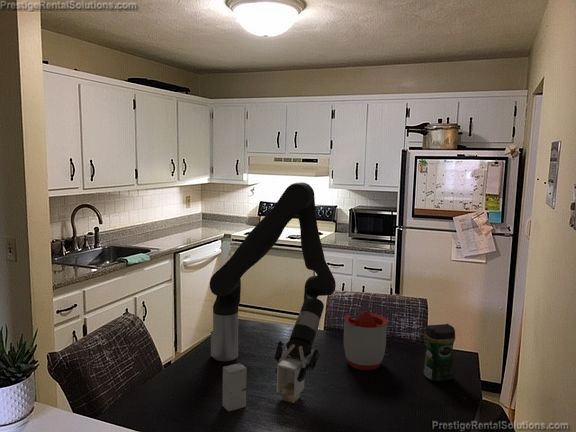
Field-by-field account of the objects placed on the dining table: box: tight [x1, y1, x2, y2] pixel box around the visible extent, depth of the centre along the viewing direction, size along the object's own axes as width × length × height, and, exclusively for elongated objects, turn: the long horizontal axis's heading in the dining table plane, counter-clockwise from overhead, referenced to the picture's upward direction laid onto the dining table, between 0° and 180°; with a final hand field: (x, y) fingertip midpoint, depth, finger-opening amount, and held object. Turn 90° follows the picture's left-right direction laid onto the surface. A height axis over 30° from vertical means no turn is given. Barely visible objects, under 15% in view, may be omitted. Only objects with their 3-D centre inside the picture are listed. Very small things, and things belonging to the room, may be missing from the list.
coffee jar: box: [423, 323, 456, 382], centre depth 161 cm, size 10×8×19 cm
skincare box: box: [222, 362, 247, 412], centre depth 140 cm, size 6×4×12 cm
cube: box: [282, 382, 301, 404], centre depth 145 cm, size 4×4×4 cm
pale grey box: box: [276, 357, 305, 398], centre depth 145 cm, size 6×6×9 cm
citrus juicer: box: [343, 310, 389, 371], centre depth 170 cm, size 16×17×20 cm
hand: (288, 378), depth 143 cm, fingers closed on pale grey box, 6 cm apart
